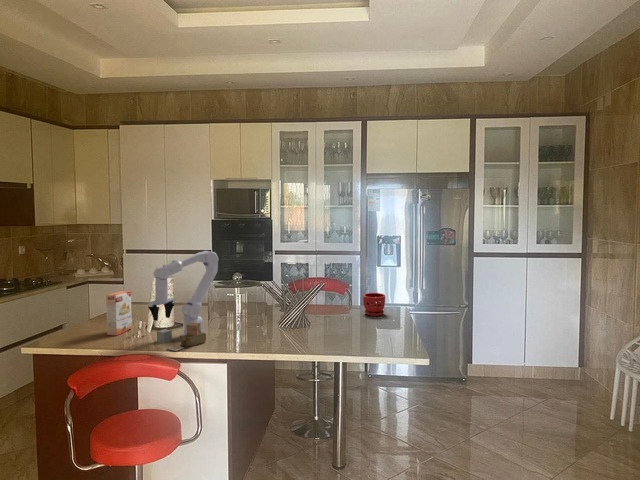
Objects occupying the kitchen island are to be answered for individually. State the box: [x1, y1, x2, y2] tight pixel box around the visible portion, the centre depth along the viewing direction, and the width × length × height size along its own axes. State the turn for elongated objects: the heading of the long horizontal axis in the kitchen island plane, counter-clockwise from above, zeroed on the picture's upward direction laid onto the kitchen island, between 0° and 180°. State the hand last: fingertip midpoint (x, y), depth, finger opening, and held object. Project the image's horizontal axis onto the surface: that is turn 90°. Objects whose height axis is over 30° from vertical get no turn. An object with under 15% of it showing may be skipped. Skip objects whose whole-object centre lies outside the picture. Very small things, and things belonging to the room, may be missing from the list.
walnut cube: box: [187, 322, 201, 336], centre depth 238 cm, size 5×5×5 cm
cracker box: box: [105, 290, 133, 337], centre depth 260 cm, size 14×6×21 cm, turn 168°
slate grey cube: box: [156, 328, 173, 344], centre depth 244 cm, size 5×5×5 cm
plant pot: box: [362, 292, 386, 317], centre depth 299 cm, size 13×13×12 cm
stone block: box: [180, 332, 207, 347], centre depth 238 cm, size 6×12×5 cm, turn 139°
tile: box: [165, 345, 187, 353], centre depth 229 cm, size 6×6×1 cm
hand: (161, 319), depth 245 cm, fingers open, 7 cm apart
